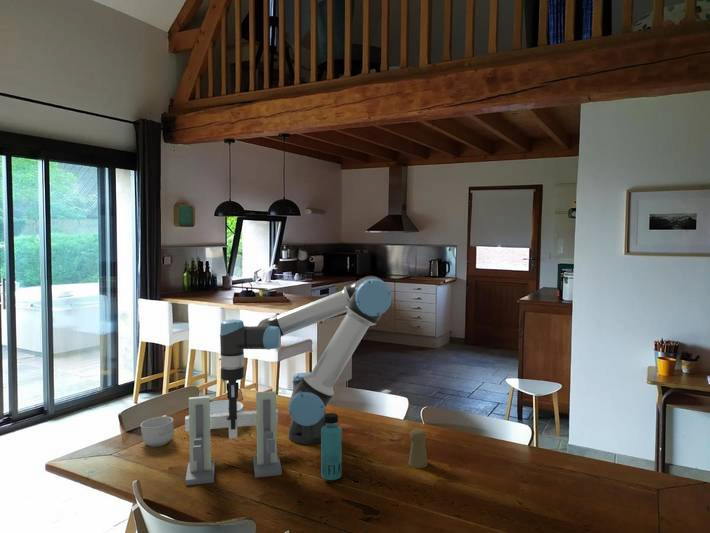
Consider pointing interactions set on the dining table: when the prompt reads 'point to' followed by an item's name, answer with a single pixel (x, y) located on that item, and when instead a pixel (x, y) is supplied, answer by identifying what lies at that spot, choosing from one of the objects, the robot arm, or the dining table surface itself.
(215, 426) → the hang rail
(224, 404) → the cereal bowl
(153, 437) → the teacup
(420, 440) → the green shaker
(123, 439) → the dining table surface
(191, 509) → the dining table surface
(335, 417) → the beverage bottle
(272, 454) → the rail standards
